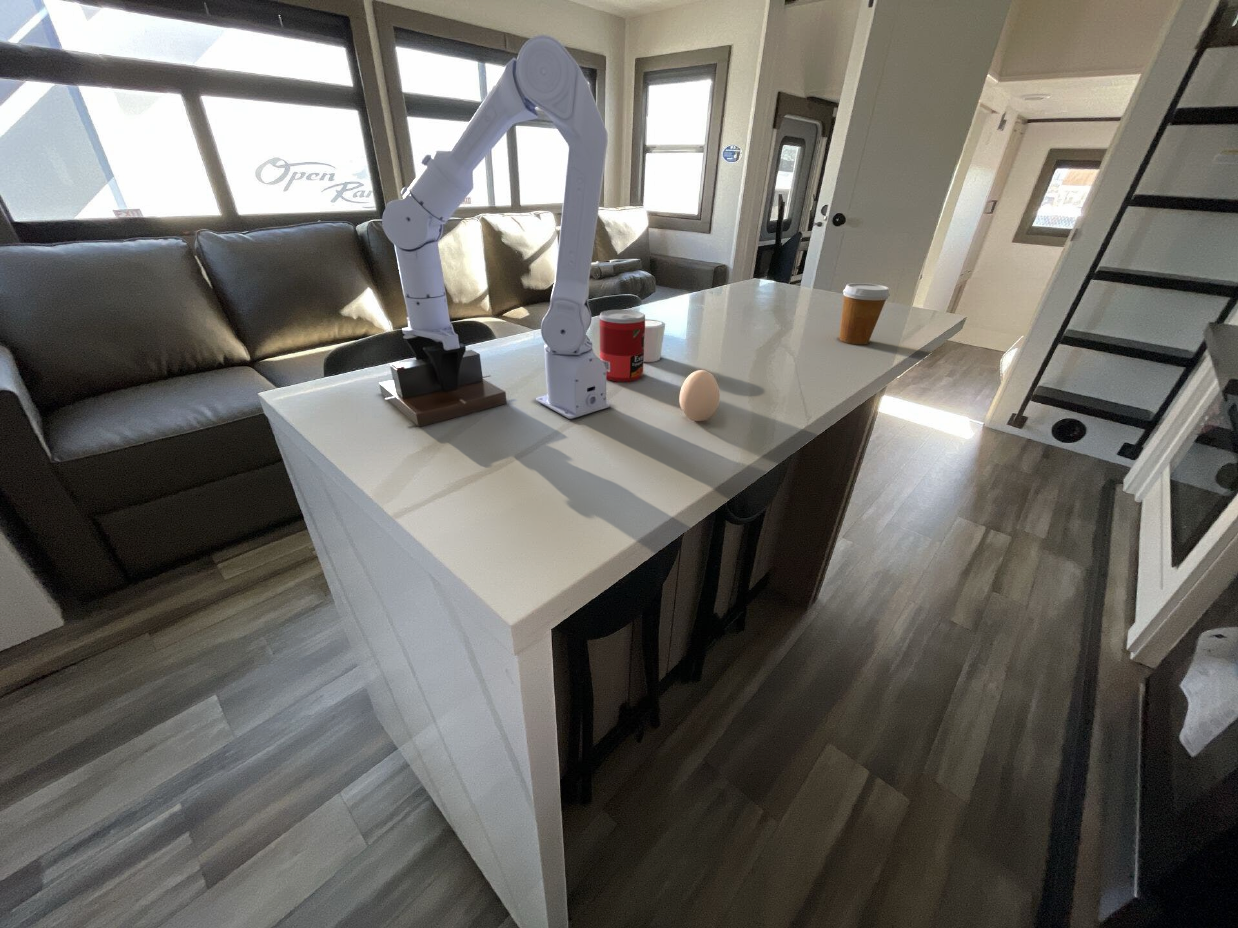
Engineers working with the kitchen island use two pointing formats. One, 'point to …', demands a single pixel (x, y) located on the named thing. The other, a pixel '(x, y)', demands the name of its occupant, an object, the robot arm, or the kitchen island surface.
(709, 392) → the egg
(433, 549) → the kitchen island surface
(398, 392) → the gray steel bar
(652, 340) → the white cup
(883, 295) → the disposable coffee cup
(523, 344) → the kitchen island surface
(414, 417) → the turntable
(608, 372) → the canned food
